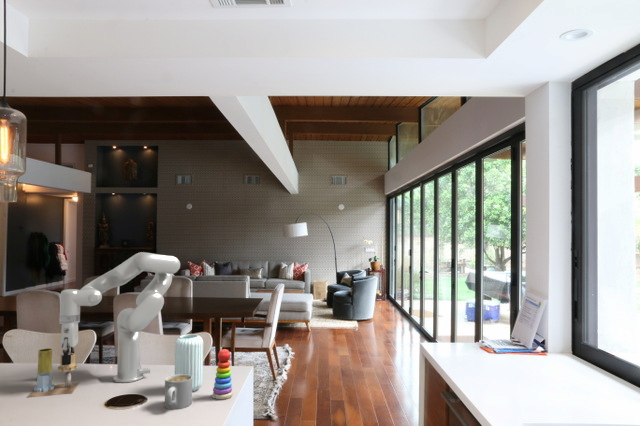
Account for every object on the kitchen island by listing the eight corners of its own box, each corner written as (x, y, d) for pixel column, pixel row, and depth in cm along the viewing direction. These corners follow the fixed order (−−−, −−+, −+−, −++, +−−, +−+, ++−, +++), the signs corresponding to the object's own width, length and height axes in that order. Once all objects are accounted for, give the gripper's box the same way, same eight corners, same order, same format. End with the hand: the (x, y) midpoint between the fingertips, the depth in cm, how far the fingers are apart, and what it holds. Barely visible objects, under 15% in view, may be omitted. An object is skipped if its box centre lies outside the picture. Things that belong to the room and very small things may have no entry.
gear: (52, 385, 189) (53, 370, 189) (55, 389, 184) (56, 374, 184) (33, 388, 185) (33, 374, 185) (35, 393, 179) (36, 378, 180)
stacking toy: (222, 401, 174) (223, 353, 175) (208, 397, 178) (208, 350, 180) (236, 395, 181) (237, 348, 182) (222, 392, 185) (222, 346, 186)
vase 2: (194, 395, 182) (195, 339, 183) (169, 393, 184) (169, 338, 185) (207, 385, 193) (207, 333, 194) (182, 384, 195) (183, 332, 196)
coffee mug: (175, 398, 178) (175, 373, 178) (196, 401, 175) (197, 375, 175) (152, 411, 165) (153, 383, 165) (175, 414, 162) (176, 386, 162)
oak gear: (78, 366, 191) (79, 351, 192) (74, 370, 185) (75, 356, 185) (60, 367, 189) (60, 353, 190) (55, 372, 183) (56, 357, 183)
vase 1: (44, 385, 194) (45, 351, 194) (32, 384, 195) (33, 351, 196) (55, 380, 200) (56, 348, 200) (43, 379, 201) (45, 347, 202)
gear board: (79, 386, 192) (80, 368, 193) (71, 397, 179) (72, 378, 179) (37, 389, 188) (37, 371, 188) (26, 401, 174) (26, 382, 175)
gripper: (74, 322, 181) (73, 367, 180) (83, 315, 197) (82, 357, 196) (54, 323, 179) (52, 369, 178) (64, 316, 195) (63, 358, 194)
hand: (68, 362), depth 187 cm, fingers closed on oak gear, 5 cm apart
